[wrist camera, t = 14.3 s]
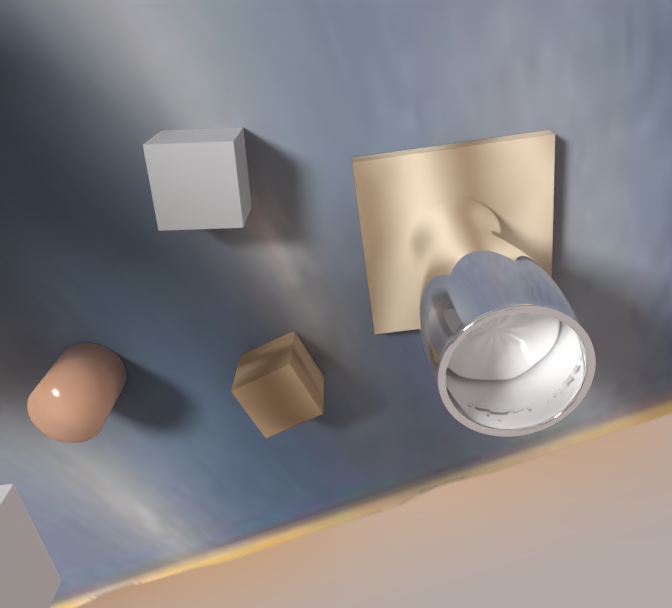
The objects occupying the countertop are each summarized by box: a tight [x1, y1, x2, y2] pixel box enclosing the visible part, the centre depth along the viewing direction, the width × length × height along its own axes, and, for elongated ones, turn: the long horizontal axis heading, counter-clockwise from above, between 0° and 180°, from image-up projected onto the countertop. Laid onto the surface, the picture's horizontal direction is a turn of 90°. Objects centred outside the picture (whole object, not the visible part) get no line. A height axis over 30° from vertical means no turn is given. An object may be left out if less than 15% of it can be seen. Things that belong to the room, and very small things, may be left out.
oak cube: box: [231, 331, 324, 438], centre depth 42 cm, size 4×4×4 cm
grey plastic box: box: [143, 127, 252, 231], centre depth 36 cm, size 5×5×4 cm
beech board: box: [352, 130, 555, 334], centre depth 39 cm, size 12×12×1 cm
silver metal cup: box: [408, 198, 596, 437], centre depth 32 cm, size 7×7×15 cm
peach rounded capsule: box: [27, 343, 127, 443], centre depth 42 cm, size 5×5×5 cm
